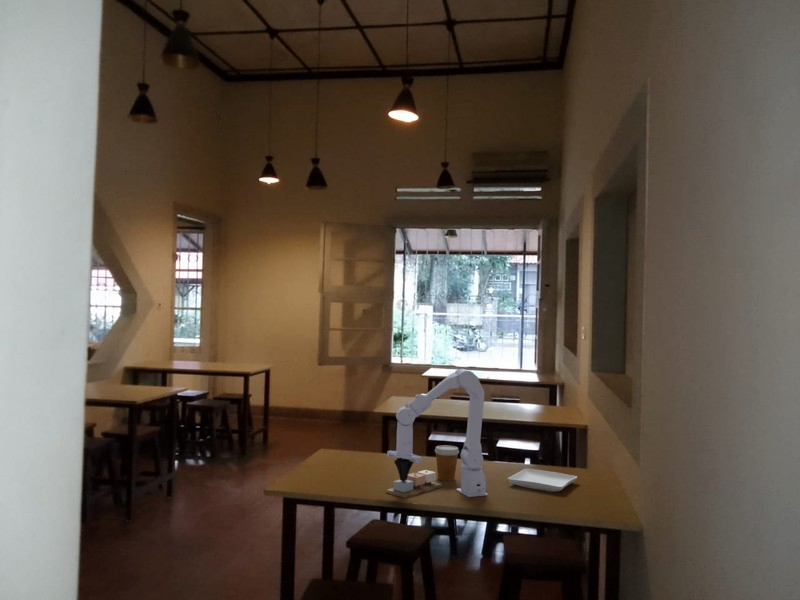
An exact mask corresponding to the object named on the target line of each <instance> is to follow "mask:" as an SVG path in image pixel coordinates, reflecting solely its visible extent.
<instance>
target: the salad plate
mask: <svg viewBox="0 0 800 600" xmlns="http://www.w3.org/2000/svg"><path fill="white" fill-rule="evenodd" d="M577 478H578V476H577V475H572V474H565V473H561V472H557V471H556V472H555V471H548V470H543V469H534V468H523V469H522V470H520V471H518V472H516V473H515V474H513V475H510V476H509V477H507V480H508V482H510V483H511V484H513V485H516V486H518V487H523V488H527V489H533V490H534V489H535V490H539V491H540V490H541V491H544V490H545V492H553V493H556V492H560V491H562V490H563V489H565V487H567V486H569V485H570V484H572V483H573V482H575V481H576V480H577Z"/></svg>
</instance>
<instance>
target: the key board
mask: <svg viewBox="0 0 800 600" xmlns="http://www.w3.org/2000/svg"><path fill="white" fill-rule="evenodd" d="M442 487H443V483H440V482H437V481H432V482H429V483H426V482H425V484H422V485H418V486H413V490H411V491H407V492H400V491H397V490H393V487H390V488H388V489H386V491H385V493H387V494H390V495H394V496H398V497H401V498H405V499H406V498H410V497H414V496H417V495H420V494H423V493H427V492H429V491H430V492H431V491H433V490H436V489H440V488H442Z"/></svg>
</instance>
